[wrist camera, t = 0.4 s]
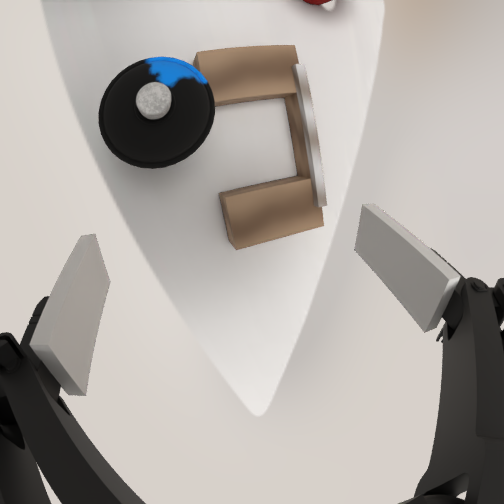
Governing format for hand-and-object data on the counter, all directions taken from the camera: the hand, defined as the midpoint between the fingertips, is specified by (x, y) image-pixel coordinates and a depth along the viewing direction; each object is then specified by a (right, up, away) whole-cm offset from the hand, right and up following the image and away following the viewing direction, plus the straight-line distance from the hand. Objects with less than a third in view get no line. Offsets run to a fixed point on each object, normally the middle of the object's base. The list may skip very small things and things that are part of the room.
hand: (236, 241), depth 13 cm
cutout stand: (+1, +13, +22) cm, 26 cm away
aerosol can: (-10, +14, +18) cm, 25 cm away
